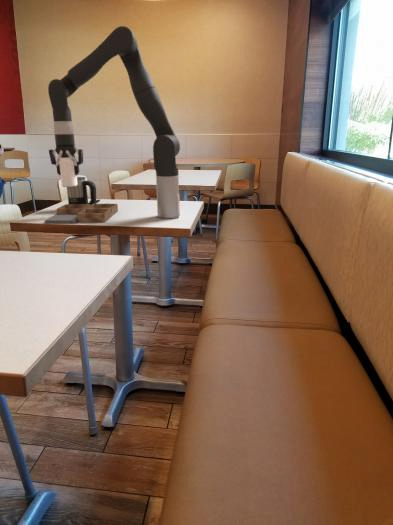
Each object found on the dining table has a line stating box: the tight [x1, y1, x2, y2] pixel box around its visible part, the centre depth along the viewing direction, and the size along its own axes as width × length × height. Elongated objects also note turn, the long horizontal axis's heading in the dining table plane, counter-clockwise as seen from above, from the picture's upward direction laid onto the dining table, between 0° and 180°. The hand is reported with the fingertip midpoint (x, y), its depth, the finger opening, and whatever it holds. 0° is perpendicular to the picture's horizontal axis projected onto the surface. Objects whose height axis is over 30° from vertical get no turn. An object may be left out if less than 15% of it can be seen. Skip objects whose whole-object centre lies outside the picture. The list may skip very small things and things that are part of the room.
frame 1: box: [56, 203, 90, 215], centre depth 179 cm, size 11×11×4 cm
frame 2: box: [76, 208, 113, 223], centre depth 169 cm, size 11×11×4 cm
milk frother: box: [66, 176, 101, 205], centre depth 191 cm, size 14×16×15 cm
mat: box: [44, 213, 78, 224], centre depth 168 cm, size 12×12×1 cm
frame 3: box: [87, 203, 119, 217], centre depth 180 cm, size 11×11×4 cm
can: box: [59, 157, 78, 188], centre depth 171 cm, size 6×6×12 cm
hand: (68, 174), depth 171 cm, fingers closed on can, 6 cm apart
